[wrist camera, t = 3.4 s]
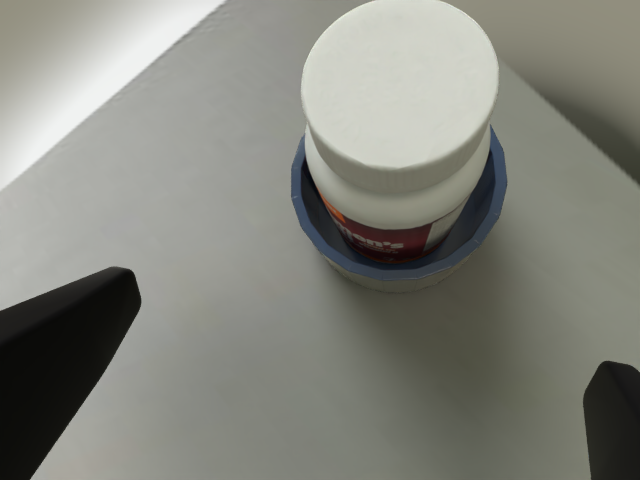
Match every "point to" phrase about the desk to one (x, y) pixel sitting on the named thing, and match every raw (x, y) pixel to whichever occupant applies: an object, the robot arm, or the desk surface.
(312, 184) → the cup
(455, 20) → the pill bottle
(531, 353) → the desk surface
